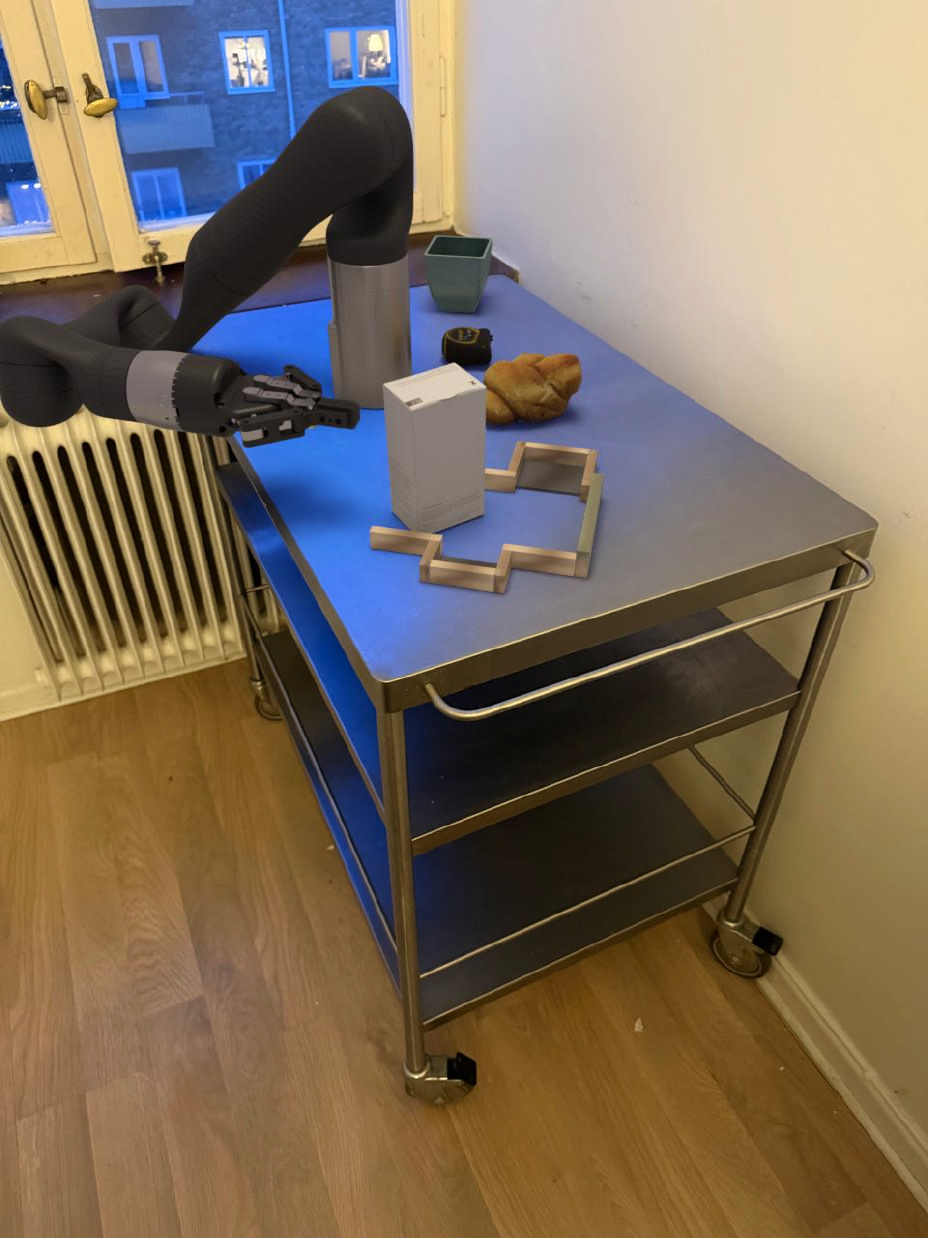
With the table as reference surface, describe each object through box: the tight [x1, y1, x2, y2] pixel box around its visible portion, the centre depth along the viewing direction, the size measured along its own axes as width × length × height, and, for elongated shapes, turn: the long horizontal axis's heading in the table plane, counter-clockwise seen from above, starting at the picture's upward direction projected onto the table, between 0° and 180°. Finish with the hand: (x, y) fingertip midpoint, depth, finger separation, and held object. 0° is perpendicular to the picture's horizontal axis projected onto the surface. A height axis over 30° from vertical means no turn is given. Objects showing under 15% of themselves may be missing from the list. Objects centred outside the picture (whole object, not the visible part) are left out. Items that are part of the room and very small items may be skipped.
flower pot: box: [423, 234, 494, 314], centre depth 130 cm, size 9×9×9 cm
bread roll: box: [482, 352, 583, 426], centre depth 105 cm, size 13×10×8 cm
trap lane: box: [369, 440, 605, 594], centre depth 90 cm, size 21×24×3 cm
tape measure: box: [440, 326, 494, 368], centre depth 118 cm, size 7×7×4 cm
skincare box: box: [383, 363, 487, 534], centre depth 86 cm, size 8×6×15 cm
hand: (357, 416), depth 83 cm, fingers closed
